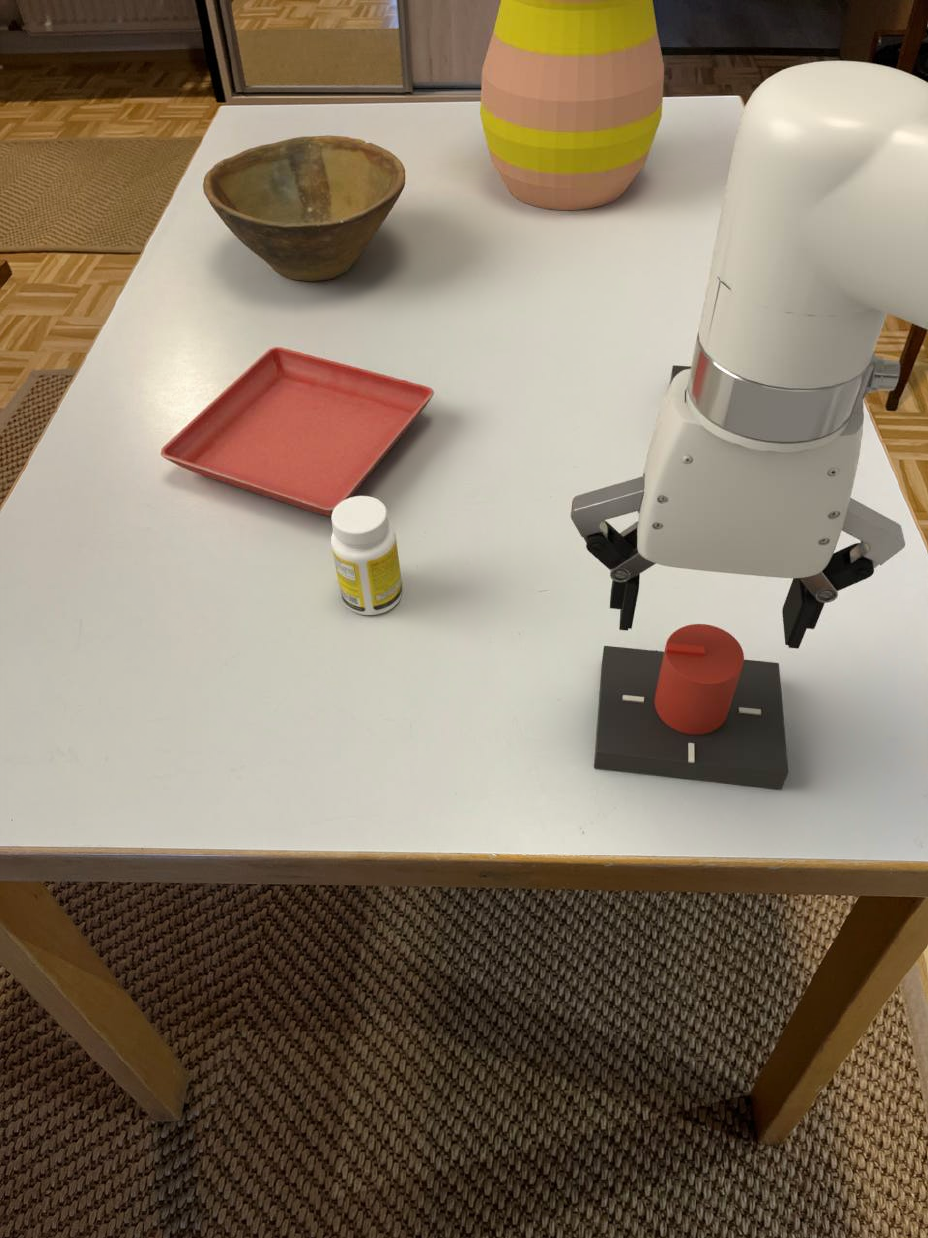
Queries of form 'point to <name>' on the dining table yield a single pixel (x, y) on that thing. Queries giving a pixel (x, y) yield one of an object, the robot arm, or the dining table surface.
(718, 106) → the dining table surface
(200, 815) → the dining table surface
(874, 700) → the dining table surface
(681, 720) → the near red knob
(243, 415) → the plant saucer
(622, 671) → the dark tick-marked fixture
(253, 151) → the bowl
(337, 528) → the supplement bottle
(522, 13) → the vase
